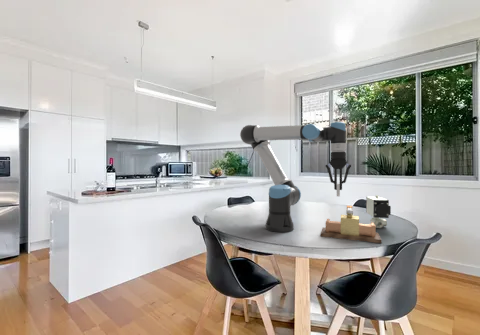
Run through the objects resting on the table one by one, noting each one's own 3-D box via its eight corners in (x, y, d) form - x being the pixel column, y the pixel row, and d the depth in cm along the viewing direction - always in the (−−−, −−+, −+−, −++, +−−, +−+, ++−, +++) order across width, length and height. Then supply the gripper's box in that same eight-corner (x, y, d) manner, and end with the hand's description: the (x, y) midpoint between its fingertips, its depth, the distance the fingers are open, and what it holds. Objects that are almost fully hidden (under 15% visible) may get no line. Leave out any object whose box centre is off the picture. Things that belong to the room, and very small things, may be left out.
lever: (353, 215, 118) (353, 210, 118) (346, 214, 120) (346, 210, 119) (352, 209, 131) (352, 205, 131) (346, 209, 132) (346, 205, 132)
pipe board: (320, 236, 120) (320, 233, 120) (322, 230, 131) (322, 227, 131) (381, 243, 110) (381, 239, 110) (378, 235, 121) (378, 232, 121)
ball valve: (392, 231, 129) (393, 197, 128) (375, 230, 130) (375, 197, 130) (380, 223, 146) (380, 193, 146) (365, 222, 148) (365, 193, 148)
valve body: (325, 233, 121) (325, 214, 121) (326, 229, 129) (326, 211, 128) (375, 239, 112) (376, 218, 112) (374, 234, 120) (374, 215, 120)
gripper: (324, 151, 129) (324, 196, 130) (351, 151, 124) (351, 197, 125) (325, 152, 136) (325, 194, 137) (351, 151, 131) (351, 195, 131)
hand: (338, 196), depth 131 cm, fingers closed
